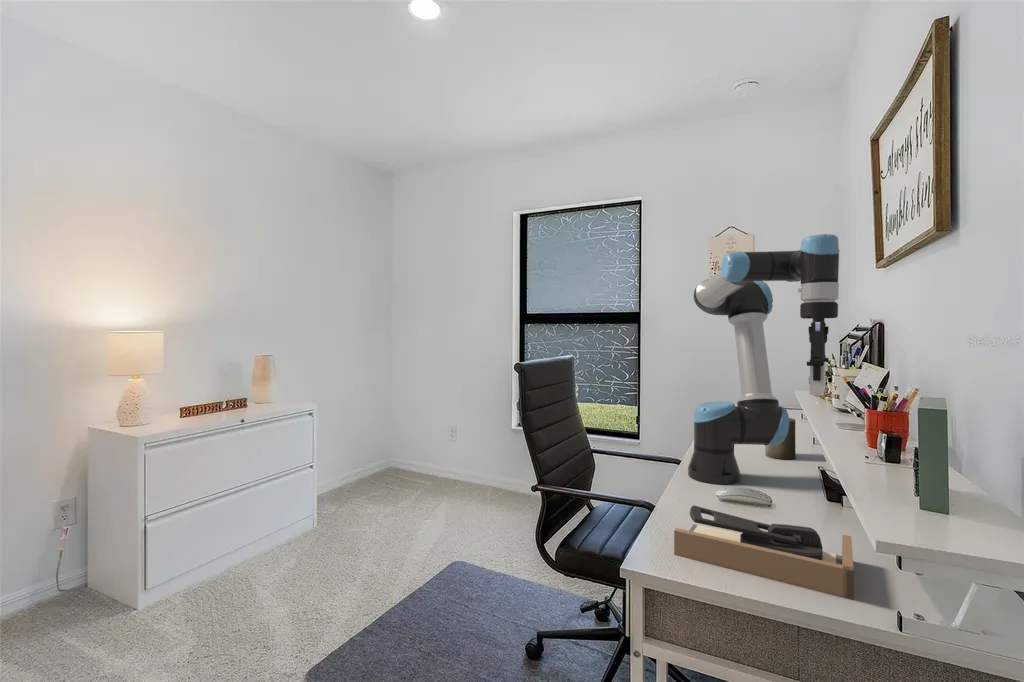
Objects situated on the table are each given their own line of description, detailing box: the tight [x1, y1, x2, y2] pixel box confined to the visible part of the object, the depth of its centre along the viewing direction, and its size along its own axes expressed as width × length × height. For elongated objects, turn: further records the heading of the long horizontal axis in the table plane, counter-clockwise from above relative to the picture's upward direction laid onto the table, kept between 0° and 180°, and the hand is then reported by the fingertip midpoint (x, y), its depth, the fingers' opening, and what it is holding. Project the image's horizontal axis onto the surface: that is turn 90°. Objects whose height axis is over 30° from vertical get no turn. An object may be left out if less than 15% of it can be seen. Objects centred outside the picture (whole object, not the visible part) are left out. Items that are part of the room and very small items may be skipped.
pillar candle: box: [764, 417, 797, 461], centre depth 175 cm, size 10×10×15 cm
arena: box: [673, 523, 855, 600], centre depth 99 cm, size 16×30×5 cm, turn 56°
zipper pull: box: [689, 505, 824, 560], centre depth 102 cm, size 9×7×25 cm
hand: (817, 391), depth 115 cm, fingers open, 13 cm apart
